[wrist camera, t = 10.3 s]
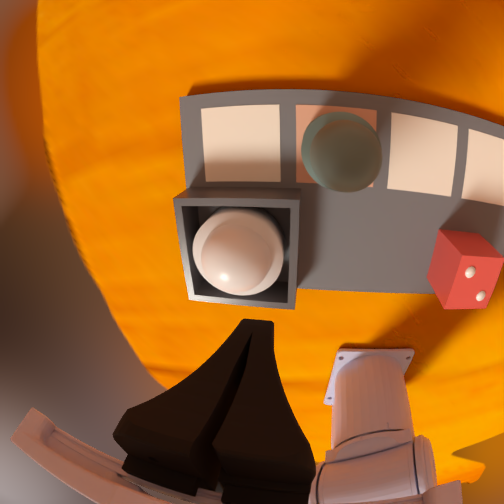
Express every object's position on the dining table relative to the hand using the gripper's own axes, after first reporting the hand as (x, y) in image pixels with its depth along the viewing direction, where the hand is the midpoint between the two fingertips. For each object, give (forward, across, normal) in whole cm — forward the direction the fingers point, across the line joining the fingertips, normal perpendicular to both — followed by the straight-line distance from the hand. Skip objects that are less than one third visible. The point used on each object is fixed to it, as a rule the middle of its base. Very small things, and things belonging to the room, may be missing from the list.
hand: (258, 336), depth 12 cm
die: (+9, -14, 0) cm, 16 cm away
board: (+10, -7, -4) cm, 12 cm away
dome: (+8, +2, -1) cm, 9 cm away
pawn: (+9, -4, -7) cm, 12 cm away
